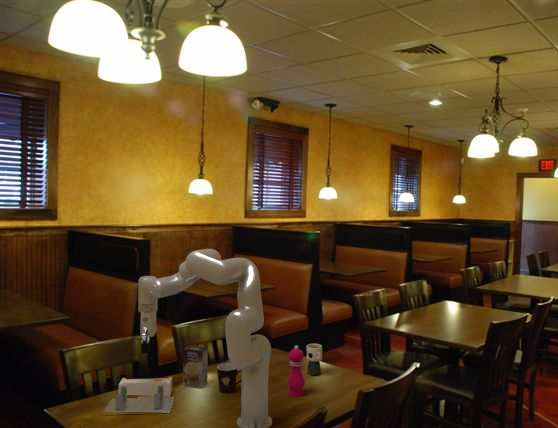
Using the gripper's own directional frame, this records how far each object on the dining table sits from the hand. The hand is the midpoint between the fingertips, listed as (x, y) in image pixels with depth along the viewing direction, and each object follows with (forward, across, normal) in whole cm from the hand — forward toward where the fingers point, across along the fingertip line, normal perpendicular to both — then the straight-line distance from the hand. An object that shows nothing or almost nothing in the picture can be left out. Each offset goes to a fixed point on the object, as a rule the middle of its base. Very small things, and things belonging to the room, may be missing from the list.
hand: (147, 348), depth 201 cm
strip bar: (+19, 0, +1) cm, 19 cm away
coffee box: (+19, +10, -18) cm, 28 cm away
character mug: (+19, +21, -71) cm, 76 cm away
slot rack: (+19, -12, 0) cm, 23 cm away
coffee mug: (+19, +2, -33) cm, 38 cm away
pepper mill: (+19, -2, -60) cm, 63 cm away
